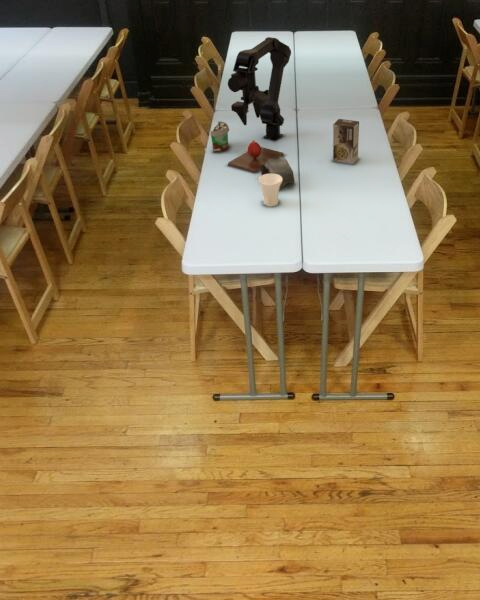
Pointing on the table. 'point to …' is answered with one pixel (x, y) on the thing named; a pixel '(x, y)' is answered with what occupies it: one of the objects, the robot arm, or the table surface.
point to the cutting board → (254, 160)
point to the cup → (270, 188)
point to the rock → (278, 169)
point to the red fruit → (254, 149)
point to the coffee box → (345, 141)
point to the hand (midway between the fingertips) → (251, 121)
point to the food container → (220, 137)
